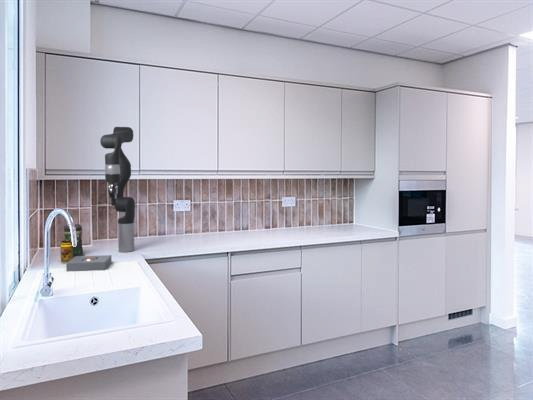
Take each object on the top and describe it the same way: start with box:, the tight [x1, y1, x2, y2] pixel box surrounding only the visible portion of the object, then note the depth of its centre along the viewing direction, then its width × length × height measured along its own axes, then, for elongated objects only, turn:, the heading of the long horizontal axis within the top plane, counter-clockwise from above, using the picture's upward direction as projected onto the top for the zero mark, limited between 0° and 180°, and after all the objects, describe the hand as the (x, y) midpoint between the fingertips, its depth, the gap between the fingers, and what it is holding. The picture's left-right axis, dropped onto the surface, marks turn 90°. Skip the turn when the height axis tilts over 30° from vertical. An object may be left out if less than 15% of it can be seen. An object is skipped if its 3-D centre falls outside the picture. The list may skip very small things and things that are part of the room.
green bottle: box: [63, 223, 84, 258], centre depth 227 cm, size 10×8×19 cm
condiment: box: [58, 239, 73, 264], centre depth 215 cm, size 7×8×12 cm
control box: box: [65, 254, 112, 272], centre depth 205 cm, size 16×18×4 cm
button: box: [83, 257, 96, 261], centre depth 205 cm, size 6×6×4 cm
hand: (113, 205), depth 212 cm, fingers closed
